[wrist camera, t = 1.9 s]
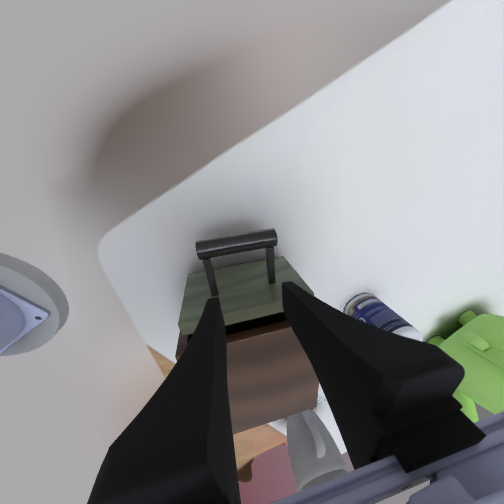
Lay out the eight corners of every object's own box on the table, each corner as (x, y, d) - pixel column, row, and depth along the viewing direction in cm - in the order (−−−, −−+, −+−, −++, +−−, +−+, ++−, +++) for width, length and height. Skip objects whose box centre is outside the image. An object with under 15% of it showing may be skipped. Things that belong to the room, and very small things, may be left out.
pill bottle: (340, 302, 27) (402, 367, 18) (373, 286, 27) (450, 343, 18) (345, 325, 29) (403, 391, 21) (375, 310, 29) (445, 370, 21)
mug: (315, 416, 41) (344, 482, 32) (278, 428, 39) (297, 500, 31) (320, 384, 36) (356, 453, 27) (277, 397, 34) (300, 474, 26)
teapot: (381, 362, 37) (487, 482, 23) (475, 286, 32) (678, 377, 18) (425, 387, 47) (516, 481, 33) (500, 332, 43) (643, 413, 29)
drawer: (173, 229, 17) (153, 264, 11) (282, 212, 18) (318, 234, 12) (211, 352, 24) (212, 414, 18) (285, 333, 26) (308, 384, 20)
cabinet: (187, 286, 20) (174, 357, 13) (285, 266, 22) (326, 318, 14) (211, 362, 26) (212, 441, 19) (287, 342, 28) (316, 407, 20)
